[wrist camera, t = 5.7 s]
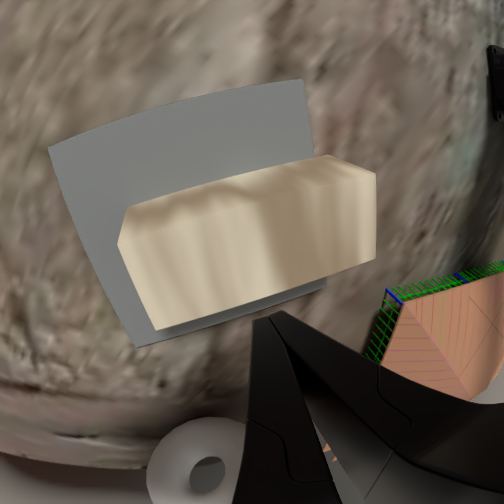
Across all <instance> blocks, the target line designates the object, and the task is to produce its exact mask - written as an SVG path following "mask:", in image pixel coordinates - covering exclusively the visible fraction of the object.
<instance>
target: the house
mask: <svg viewBox="0 0 504 504" xmlns="http://www.w3.org/2000/svg"><path fill="white" fill-rule="evenodd" d="M498 262H499V261H498ZM501 262H502V263H503V264H502V263H501ZM501 262H499V263H500V264H502V265H503V266H504V261H503V260H501ZM495 263H496V262H495ZM492 264H493V263H492ZM496 264H497V265H499V264H498V263H496ZM488 265H489V266H491V267H492V268H494V267H493V266H492V265H490V264H488ZM493 265H494V266H496V265H495V264H493ZM485 266H486V267H487V268H489V269H490V270H492V269H491V268H490V267H488V266H487V265H485ZM481 267H482V268H484V267H483V266H481ZM496 267H497V268H498V269H496V268H494V269H495V270H492V271H489V270H487V269H486V268H484V269H485V270H486V271H488V273H486V272H485V271H483V270H482V269H481V268H479V267H477V268H478V269H480V270H481V271H483V272H484V274H487V275H488V277H486V276H485V275H484V274H482V273H481V272H479V271H478V270H476V269H475V268H473V269H474V270H476V271H477V272H478V273H480V274H481V275H478V274H476V273H475V272H474V271H472V270H471V269H469V270H470V271H471V272H473V273H474V274H475V275H477V276H473V275H472V274H470V273H469V272H468V271H466V270H465V272H467V273H468V274H469V275H471V276H472V278H470V277H468V276H467V275H466V274H464V273H463V272H461V273H462V274H463V275H465V276H466V277H467V278H468V279H467V278H466V277H465V276H463V275H462V274H460V273H459V272H458V274H459V275H461V276H462V277H464V278H465V279H466V280H468V281H469V282H470V283H469V282H467V281H466V280H465V279H463V278H462V277H461V276H459V275H458V274H457V273H454V275H455V276H457V277H458V278H459V279H461V281H458V280H456V279H455V278H454V277H453V276H451V275H450V274H449V276H450V277H451V278H453V279H454V280H455V281H457V282H455V281H454V280H452V281H453V282H454V283H453V282H452V281H451V280H449V279H448V278H447V277H445V276H443V277H444V278H446V279H447V280H448V281H450V282H451V284H447V283H446V282H445V281H443V280H442V279H441V278H439V277H438V279H440V280H441V281H442V282H443V283H445V284H446V285H445V286H442V285H441V284H439V283H438V282H437V281H436V280H434V279H433V278H432V280H433V281H434V282H436V283H437V284H438V285H439V286H440V287H437V288H436V287H435V286H434V285H433V284H431V283H430V282H429V281H428V280H426V282H428V283H429V284H430V285H431V286H433V287H434V288H435V289H431V290H430V289H429V288H428V287H427V286H426V285H424V284H423V283H422V282H421V281H420V282H419V283H421V284H422V285H423V286H424V287H425V288H427V289H428V290H426V291H423V290H422V289H420V288H419V287H418V286H417V285H416V284H415V283H413V285H414V286H416V287H417V288H418V289H419V290H420V291H421V292H420V293H416V292H415V291H414V290H413V289H411V288H410V287H409V286H408V285H407V284H406V286H407V287H408V288H409V289H410V290H411V291H412V292H414V294H410V295H409V294H408V293H407V292H405V291H404V290H403V289H402V288H401V287H400V286H398V288H400V289H401V290H402V291H403V292H404V293H405V294H406V295H407V296H403V295H402V294H401V293H400V292H398V291H397V290H396V289H395V288H394V287H393V289H394V290H395V291H396V292H397V293H398V294H399V295H400V296H401V297H399V298H398V297H397V296H395V295H394V294H393V293H392V292H391V291H390V290H389V289H388V288H387V289H386V292H387V293H389V294H390V295H391V296H392V297H393V298H394V299H395V300H396V302H395V305H394V308H393V307H392V306H391V305H390V304H389V303H388V302H387V301H386V300H385V299H383V300H384V301H385V302H386V303H387V304H388V305H389V306H390V307H391V308H392V312H391V315H390V316H389V315H388V314H387V313H386V312H385V311H384V310H383V309H382V308H380V309H381V310H382V311H383V312H384V313H385V314H386V315H387V316H388V317H389V318H390V320H392V321H393V322H394V323H395V327H394V330H392V329H391V328H390V327H389V323H390V320H389V322H388V325H387V324H386V323H385V322H384V321H383V320H382V319H381V318H380V317H379V316H378V318H379V319H380V320H381V321H382V322H383V323H384V324H385V325H386V326H387V327H386V330H387V328H389V330H390V331H391V332H392V335H391V338H390V339H389V338H388V336H387V335H386V334H385V333H386V330H385V332H383V331H382V330H381V329H380V327H379V326H378V325H377V324H375V325H376V326H377V328H378V329H379V330H380V331H381V332H382V333H383V334H384V336H383V339H382V341H381V339H380V338H379V337H378V336H377V335H376V334H375V333H374V332H373V334H374V335H375V336H376V337H377V338H378V339H379V341H380V342H381V343H380V346H381V344H383V345H384V347H385V348H386V350H385V353H384V354H383V353H382V351H381V350H380V346H379V348H378V347H377V345H376V344H375V343H374V342H373V341H372V339H370V341H371V342H372V343H373V344H374V345H375V347H376V348H377V349H378V352H377V355H378V353H379V351H380V353H381V354H382V355H383V358H382V360H381V361H380V360H379V358H378V357H377V355H375V353H374V352H373V351H372V350H371V348H370V347H369V346H368V348H369V349H370V351H371V352H372V353H373V354H374V356H375V359H376V358H377V359H378V361H379V362H380V363H379V362H378V361H377V360H376V362H377V363H378V364H379V365H382V366H384V367H386V368H388V369H389V370H391V371H393V372H395V373H397V374H399V375H401V376H403V377H405V378H408V379H410V380H412V381H415V382H417V383H419V384H422V385H424V386H427V387H430V388H432V389H435V390H438V391H440V392H443V393H446V394H449V395H452V396H454V397H457V398H460V399H463V400H466V401H470V400H472V399H473V398H475V397H476V396H477V395H479V394H480V393H481V392H483V391H484V390H485V389H486V388H487V387H488V385H489V383H490V381H492V380H493V379H494V378H495V377H497V374H498V373H499V371H500V369H501V367H502V365H503V363H504V271H503V270H504V267H502V266H501V265H499V267H500V268H499V267H498V266H496ZM501 267H502V268H501ZM502 269H503V270H502ZM499 270H501V271H503V272H500V271H499ZM495 271H498V272H499V273H497V272H495ZM492 272H494V273H496V274H493V273H492ZM489 273H491V274H492V275H491V276H490V275H489ZM482 275H483V276H484V277H485V278H482V277H480V276H482ZM476 277H480V278H481V279H477V278H476ZM473 278H475V279H476V281H474V280H472V279H473ZM469 279H470V280H471V281H473V282H471V281H470V280H469ZM462 281H463V283H466V284H464V285H463V283H460V282H462ZM457 283H459V284H461V286H460V285H459V284H457ZM452 284H453V285H455V286H456V287H454V288H452V287H451V286H450V285H452ZM456 284H457V285H458V286H457V285H456ZM446 286H448V287H449V288H450V289H448V290H447V289H446V288H444V287H446ZM441 287H442V288H443V289H444V291H440V290H439V289H438V288H441ZM432 290H437V291H439V292H438V293H434V292H433V291H432ZM427 291H430V292H431V293H433V294H431V295H428V294H426V293H425V292H427ZM421 293H424V294H425V295H426V296H424V297H421V296H419V295H418V294H421ZM412 295H417V296H418V297H419V298H417V299H413V298H412V297H411V296H412ZM406 297H410V298H411V299H412V300H409V301H408V300H407V299H406ZM400 298H404V299H405V300H406V302H402V301H401V300H400ZM397 302H398V303H399V304H400V305H401V306H402V307H401V310H400V313H398V312H397V311H396V310H395V306H396V303H397ZM393 310H394V311H395V312H396V313H397V314H398V315H399V316H398V319H397V322H395V321H394V320H393V319H392V318H391V316H392V313H393ZM384 337H386V338H387V339H388V340H389V343H388V345H387V346H386V345H385V344H384V343H383V340H384ZM365 354H366V356H367V357H368V358H369V359H371V358H370V357H369V356H368V355H367V353H365ZM375 359H374V362H375ZM322 450H323V452H325V451H328V450H331V449H330V447H329V445H328V444H327V442H326V443H325V445H324V447H323V449H322ZM335 460H337V458H336V456H335V455H334V457H333V458H332V460H331V461H335Z"/></svg>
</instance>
